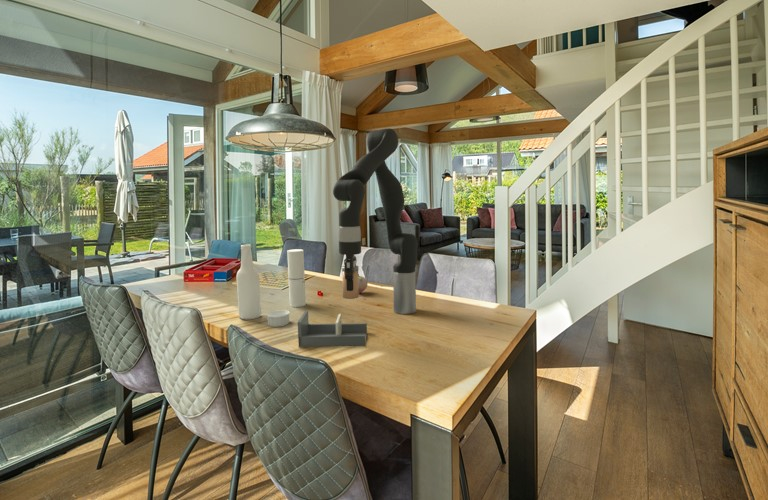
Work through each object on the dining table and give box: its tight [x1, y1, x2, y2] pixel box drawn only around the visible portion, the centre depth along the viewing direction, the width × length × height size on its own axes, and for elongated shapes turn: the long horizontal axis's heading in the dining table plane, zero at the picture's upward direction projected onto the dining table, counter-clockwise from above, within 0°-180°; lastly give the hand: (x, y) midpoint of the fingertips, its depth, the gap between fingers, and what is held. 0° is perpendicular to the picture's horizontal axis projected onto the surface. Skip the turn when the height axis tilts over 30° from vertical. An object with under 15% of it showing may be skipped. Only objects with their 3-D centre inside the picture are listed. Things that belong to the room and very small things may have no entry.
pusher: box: [334, 313, 342, 335], centre depth 137 cm, size 1×10×7 cm, turn 0°
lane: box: [297, 310, 368, 348], centre depth 137 cm, size 22×13×8 cm, turn 90°
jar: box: [341, 265, 360, 300], centre depth 136 cm, size 6×6×11 cm
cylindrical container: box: [286, 248, 307, 308], centre depth 179 cm, size 7×7×25 cm
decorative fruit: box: [358, 273, 369, 294], centre depth 199 cm, size 9×8×10 cm
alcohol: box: [236, 243, 262, 321], centre depth 162 cm, size 9×9×30 cm
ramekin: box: [265, 309, 291, 328], centre depth 155 cm, size 9×9×4 cm
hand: (350, 288), depth 137 cm, fingers closed on jar, 5 cm apart
